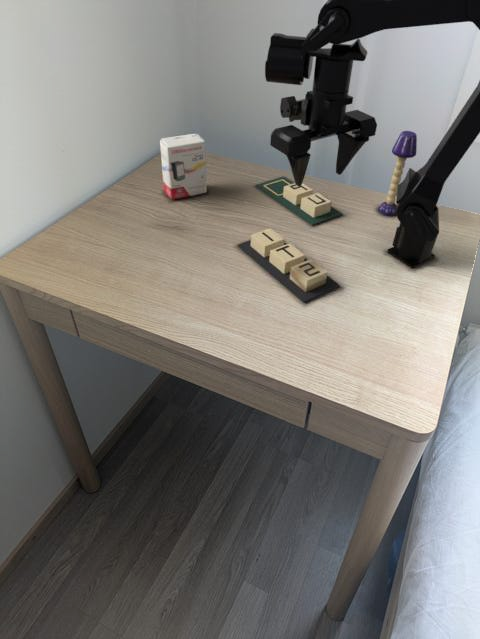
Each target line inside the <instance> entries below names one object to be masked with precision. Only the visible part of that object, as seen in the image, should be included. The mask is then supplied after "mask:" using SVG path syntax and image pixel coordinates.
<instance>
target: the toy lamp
mask: <svg viewBox="0 0 480 639" xmlns="http://www.w3.org/2000/svg"><path fill="white" fill-rule="evenodd" d="M417 144H418V135H417V133H416V132H414V131H411V130H403V131H401V132H400V133H399V136H398V137H397V138H396V140H395V143H394V145H393V147H392V149H391V153H392V154H393V155H394V156H396V159H397V161H396V162H395V165H394V166H395V168H394V170H393V175H392V176H391V183H390V185H389V190H388V192H387V198H386V201H383V202H381V203H380V204H379V206H378V208H377V211H378V212H379V213H380V214H381V215H384V216H389V217H391V216H393V217H394V216H397V215H396V210H397V203H396V198H397V189H398V185H399V184H400V183H401V182H402V181H401V180H402V175H403V174H404V173H403V172H404V168H405V166H406V161H407V159H412V158H414V157H416V155H417V150H418V148H417V147H418V145H417Z"/></svg>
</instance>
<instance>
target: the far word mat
mask: <svg viewBox="0 0 480 639" xmlns="http://www.w3.org/2000/svg"><path fill="white" fill-rule="evenodd" d="M255 187H256V188H257V189H259V190H260V191H262V192H263V193H265V194H266V195H267V196H269V197H271V199H273V200H274V201H276V202H278V203H279V204H280V205H282V206H283V207H285V208H286V209H287V210H289V211H290V212H292V213H293V214H295V215H296V216H297V217H299V218H300V219H302V220H304V221H305V222H306V223H308V225H311V227H314V226H316V225H319V224H322V223H325V222H327V221H329V220H332V219H335V218H338V217H340V216H343V214H342V212H340V211H339V210H338V209H336V208H333V206H332V203H333V202H332V200H330V199H328V198H327V197H325V196H324V195H322V194H320V193H319V192H316V193H314V189H312V188H311V187H309V186H308V185H306V184H304V183H303V182H302V185H301V186H300V187H298V186H297V185H296V184H295V182H293V181H292V180H291V179H289V178H287V177H286V176H281V177H277V178H274V179H271V180H268V181H263V182H261V183H258V184H255Z"/></svg>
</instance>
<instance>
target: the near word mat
mask: <svg viewBox="0 0 480 639" xmlns="http://www.w3.org/2000/svg"><path fill="white" fill-rule="evenodd" d="M237 247H238V248H239V249H240V250H241V251H243V252H244V253H245V254H246V255H247V256H249V257H250V258H251V259H252V260H253V261H254V262H255V263H257V264H258V265H259V266H260V267H261V268H262V269H264V270H265V271H266V272H267V273H268V274H270V276H272V277H273V278H274V279H275V280H276V281H278V282H279V283H280V284H281V286H283V287H284V288H286V289H287V290H288V291H289V292H290V293H291V294H293V295H294V297H296V298H297V299H298V300H299V301H301V302H302V303H303V304H307V303H308V302H310V301H312V300H314V299H315V300H316V299H317V298H319V297H321V296H323V295H325V294H328V293H330V292H333V291H335V290H337V289H339V288H340V287H341V285H340V284H339V283H338V282H336V281H335V280H333V279H332V278H331V277H329V276H328V275H327V278H326V283H325V284H323V285H321V286H319V287H316V288H314V289H312V290H310V291H307V292H305V291H304V290H303V289H301V288H300V287H299V286H298V285H297V284H295V283H294V282H293V281H292V280H291V279H290V270H291V267H293V266H295V265H298V264H300V263H303V262H305V261H308V259H306V254H305V253H304V252H302V251H301V250H299V249H298V248H297V247H296V246H294V245H293V244H292V243H286V242H285V238H284V237H282V236H281V235H280V234H279V233H277V232H276V231H275V230H273V228H267V229H264V230H261V231H258V232H255V233H253V234H252V233H251V234H250V240H247V241H244V242H241V243H239V244H237Z"/></svg>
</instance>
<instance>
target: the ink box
mask: <svg viewBox="0 0 480 639" xmlns="http://www.w3.org/2000/svg"><path fill="white" fill-rule="evenodd" d="M159 146H160V158H161V160H160V161H161V172H162V173H161V174H162V185H163V192H164V194H165V195H166V196H167V197H168V198H170V200H177V199H183V198H188V197H192V196H196V195H197V196H198V195H201V194H206V193H207V192H208V191H207V163H206V141H205V140H204V138H203V137H202V136H201V135H199V134H198V133H189V134H182V135H177V136H168V137H161V139H160V140H159Z"/></svg>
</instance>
